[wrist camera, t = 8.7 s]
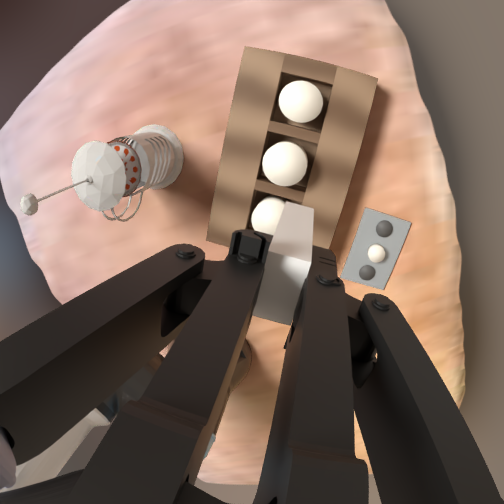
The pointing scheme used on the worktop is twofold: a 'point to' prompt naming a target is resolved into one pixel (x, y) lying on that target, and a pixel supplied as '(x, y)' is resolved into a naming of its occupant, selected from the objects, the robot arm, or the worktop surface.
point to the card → (375, 248)
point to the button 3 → (300, 101)
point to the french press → (121, 169)
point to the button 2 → (285, 163)
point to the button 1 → (268, 214)
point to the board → (283, 129)
